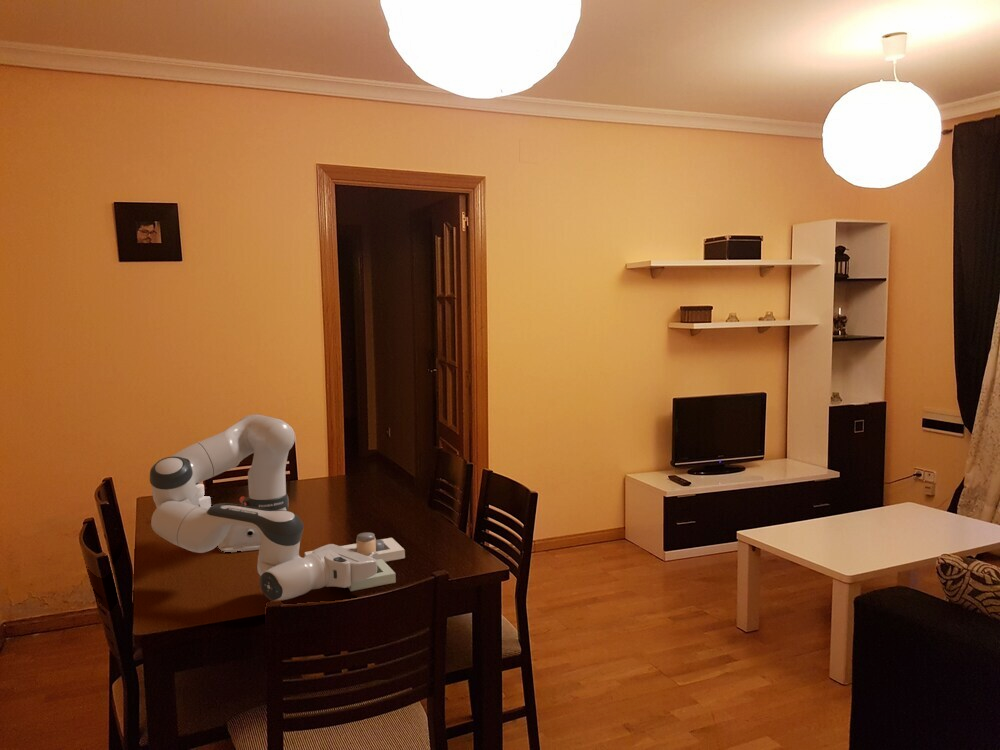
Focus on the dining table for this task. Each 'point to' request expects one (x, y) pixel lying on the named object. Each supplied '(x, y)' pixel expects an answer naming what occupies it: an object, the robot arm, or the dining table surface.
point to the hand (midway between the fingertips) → (368, 552)
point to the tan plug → (366, 543)
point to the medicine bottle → (203, 497)
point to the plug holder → (376, 577)
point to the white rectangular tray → (383, 549)
